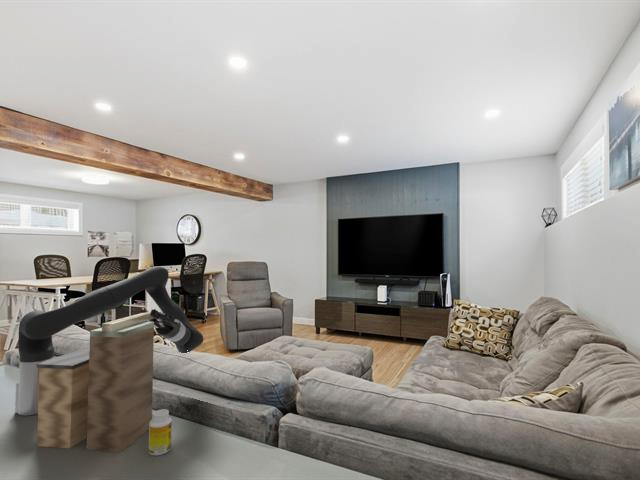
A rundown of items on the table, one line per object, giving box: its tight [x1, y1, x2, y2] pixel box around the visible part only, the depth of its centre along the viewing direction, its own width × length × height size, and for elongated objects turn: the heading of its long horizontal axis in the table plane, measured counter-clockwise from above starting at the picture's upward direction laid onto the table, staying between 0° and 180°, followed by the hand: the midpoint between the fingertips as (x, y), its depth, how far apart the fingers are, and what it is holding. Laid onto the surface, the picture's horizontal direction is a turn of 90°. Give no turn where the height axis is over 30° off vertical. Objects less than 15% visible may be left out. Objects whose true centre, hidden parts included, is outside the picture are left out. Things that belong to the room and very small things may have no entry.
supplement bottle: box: [148, 408, 173, 456], centre depth 95 cm, size 6×6×10 cm
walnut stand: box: [86, 322, 155, 453], centre depth 102 cm, size 10×14×32 cm
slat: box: [101, 310, 154, 331], centre depth 107 cm, size 3×22×2 cm, turn 173°
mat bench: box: [36, 347, 90, 449], centre depth 105 cm, size 11×17×22 cm, turn 173°
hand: (147, 311), depth 114 cm, fingers closed on slat, 3 cm apart
